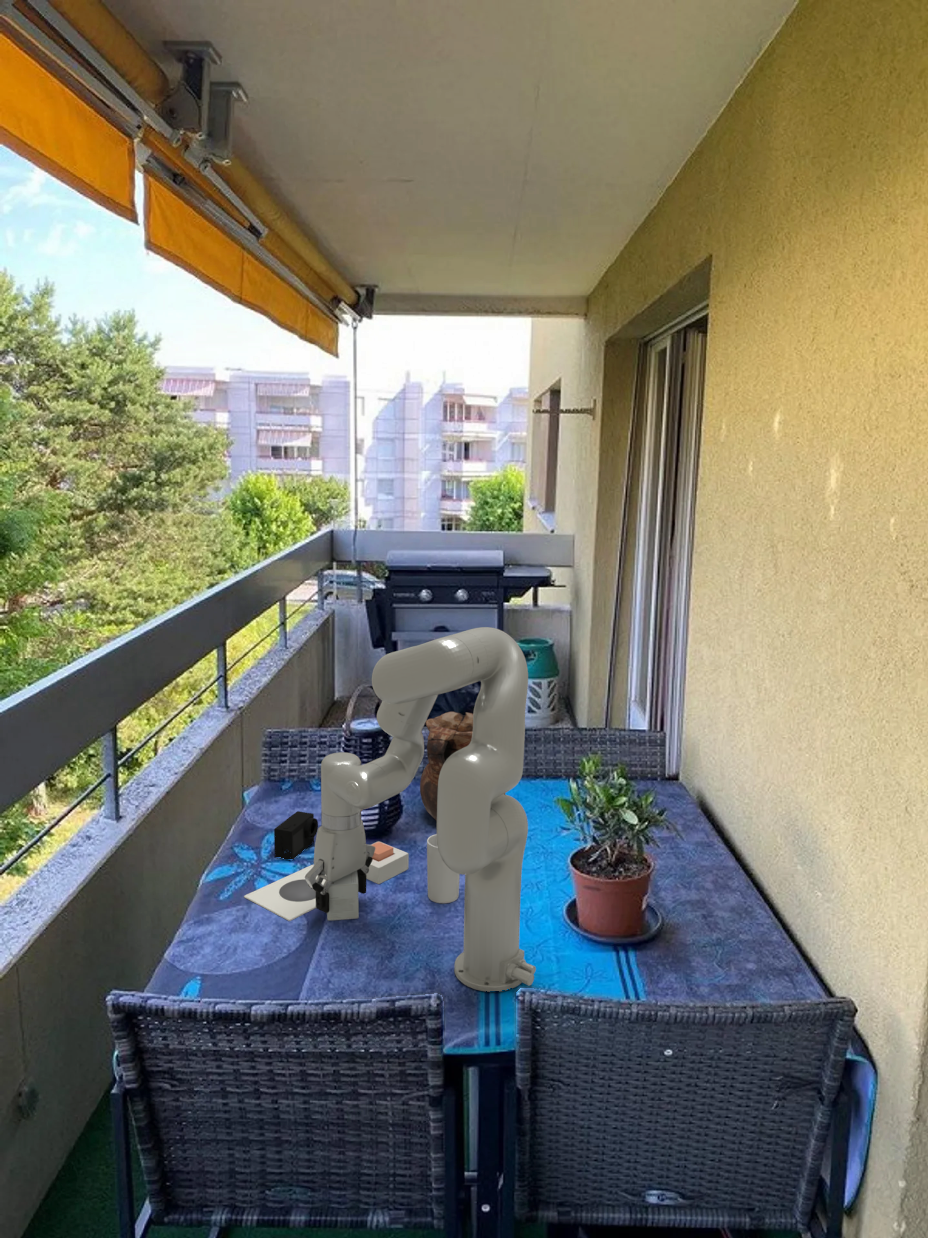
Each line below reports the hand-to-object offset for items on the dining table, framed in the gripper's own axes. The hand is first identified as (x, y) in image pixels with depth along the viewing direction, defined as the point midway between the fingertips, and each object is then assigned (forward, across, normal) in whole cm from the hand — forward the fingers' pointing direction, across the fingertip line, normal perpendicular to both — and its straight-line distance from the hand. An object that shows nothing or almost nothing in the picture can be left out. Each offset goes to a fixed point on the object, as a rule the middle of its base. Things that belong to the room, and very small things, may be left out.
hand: (341, 900), depth 171 cm
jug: (+3, -50, -11) cm, 51 cm away
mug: (+2, -19, +10) cm, 22 cm away
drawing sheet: (+2, 0, -12) cm, 12 cm away
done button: (0, -17, -7) cm, 18 cm away
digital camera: (+3, -12, -27) cm, 30 cm away
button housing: (+2, -17, -7) cm, 18 cm away
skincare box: (+3, 0, 0) cm, 3 cm away
